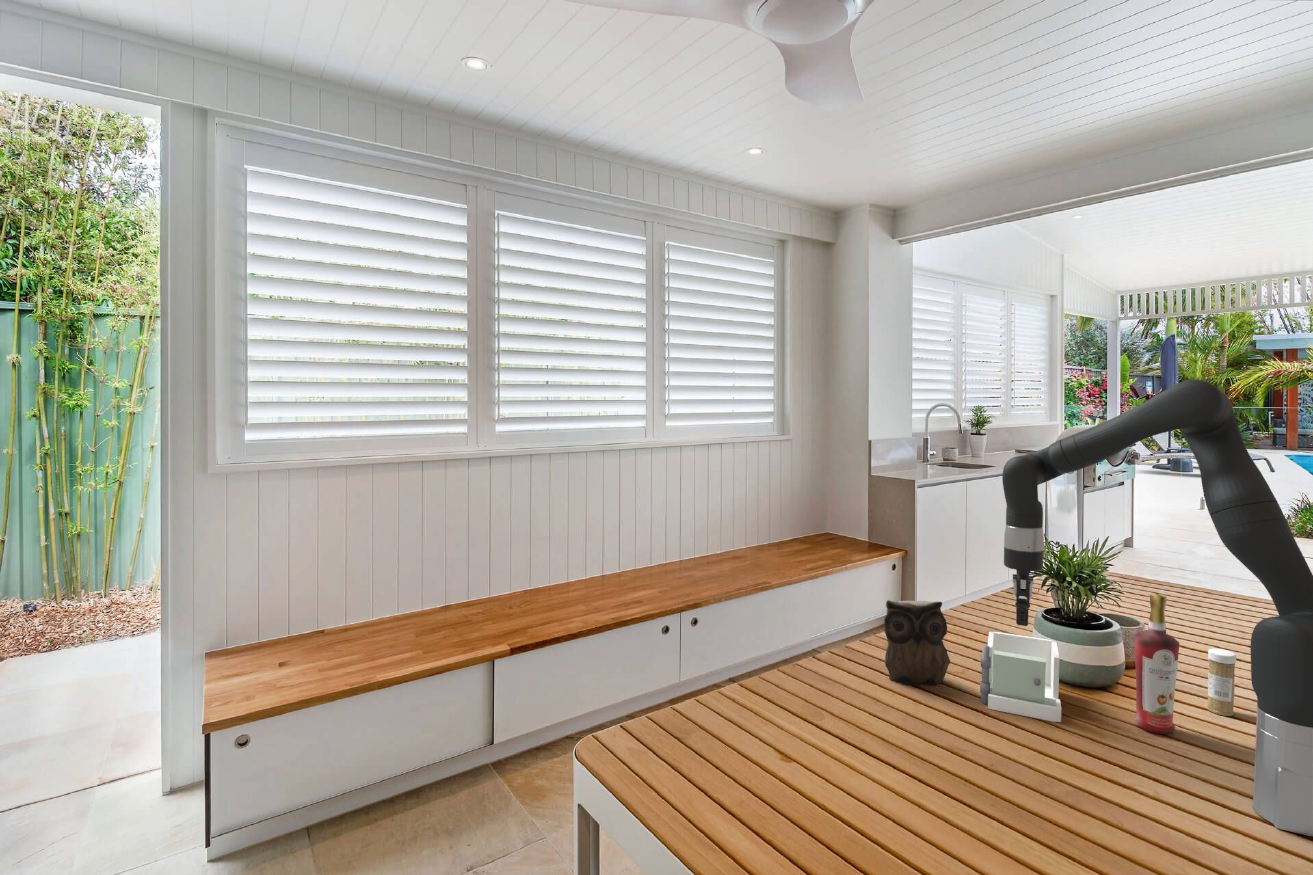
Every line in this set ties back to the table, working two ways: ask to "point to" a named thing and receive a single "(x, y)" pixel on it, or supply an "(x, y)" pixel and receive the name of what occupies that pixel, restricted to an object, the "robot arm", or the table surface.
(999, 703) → the cabinet
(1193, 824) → the table surface
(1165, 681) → the liquor
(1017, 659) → the door
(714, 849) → the table surface
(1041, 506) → the robot arm
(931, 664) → the owl
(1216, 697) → the sprinkles bottle
